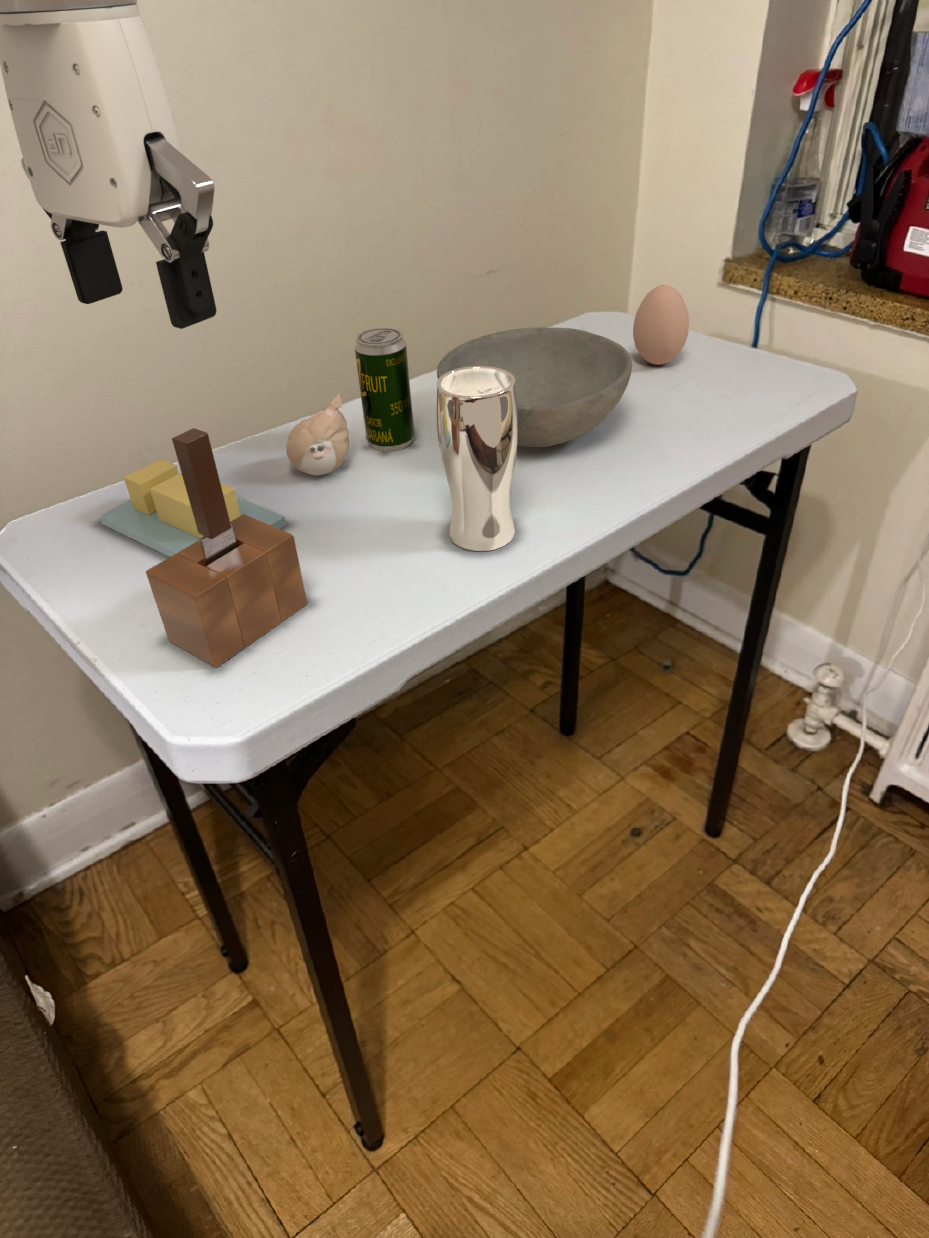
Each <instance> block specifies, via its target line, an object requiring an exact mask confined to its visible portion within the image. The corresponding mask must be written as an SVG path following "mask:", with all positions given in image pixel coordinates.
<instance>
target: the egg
mask: <svg viewBox="0 0 929 1238" xmlns="http://www.w3.org/2000/svg"><path fill="white" fill-rule="evenodd" d="M686 304H687V303H686V302H685V300H684V297H683V296H682V295H681V293H680V292H679V291H678V289H676V288H675V287H673V286H671V285H668V284H661V285H659V286H656V287H654V288H653V289H651V290H649V292H647V293H646V295H645V297H644V298H643V299H642V301H641V302H640V305H639V307H638V309H637V311H636V313H635V315H634V320H633V327H632V338H633V342H634V346H635V348H636V350H637V352H638V354H639V355H640V356H641V358H643V359H644V360H645V361H646V362H648V363H650V364H651V365H655V366H661V365H666V364H668V363H670V362H671V361H673V360H674V359H675V358H676V357H677V356H678V355H679V354H680V353H681V351H682V350H683V348H684V347H685V345H686V343H687V341H688V336H689V332H690V331H689V330H690V329H689V328H690V318H689V317H690V316H689V311H688V309H687V305H686Z"/></svg>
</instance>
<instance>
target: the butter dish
mask: <svg viewBox="0 0 929 1238" xmlns="http://www.w3.org/2000/svg"><path fill="white" fill-rule="evenodd" d="M236 498H237V502H238V506H239V510H240V514H241V515H243V514H245V515H247V516H250V517H252V518H254V519H257V520H259V521H262V522H264V523H266V524H269V525H271V526H274V527H276V528H278V529H281V530H282V529H283V528H284V527H286V526H287V521H286V517H285V516H284V515H282V514H279V513H277V512H274V511H272V510H271V509H270V510H269V509H267V508H265V507H262V506H260V505H257V504H255V503H252V502H251V501H248V500H245V499H244V498H240V497H238V496H236ZM98 517H99V520H100V523H101V525H102V526H105V527H107V528H109V529H111V530H113V531H116V532H117V533H119V534H122V535H123V536H125V537H127V538H129V539H132V540H134V541H135V542H138V543H140V544H142V545H144V546H146V547H148V548H150V549H152V550H155V551H156V552H158V553H161V554H163V555H164V556H167V557H168V558H169V557H171V556H173V555H174V554H177V553H178V552H179V551H181V550H183V549H185V548H186V547H188V546H190V545H191V544H193V543H195V542H197V541H198V540H199V539H200V538H197V537H195V536H193V535H191V534H189V533H187V532H184V531H182V530H180V529H178V528H176V527H173V526H171V525H169V524H167V523H165V522H162V521H160V520H159V517H158V514H157V511H156V512H154V513H152V514H150V515H147V514H145V513H143V512H141V511H138V510H136V509H134V507H133V504H132V501H131V498H130V499H129V500H126V501H125V502H122V503H120V504H119V505H116V506H114V507H113V508H111V509H109V510H107V511H105V512H103V513H100V514H99V515H98Z"/></svg>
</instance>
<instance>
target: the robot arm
mask: <svg viewBox="0 0 929 1238" xmlns="http://www.w3.org/2000/svg"><path fill="white" fill-rule="evenodd" d="M142 18H143V17H142V16H141V11H140V7H139V4H138V0H0V69H1V75H2V80H3V85H4V89H5V94H6V98H7V102H8V103H7V104H8V107H9V110H10V114H11V118H12V122H13V126H14V131H15V134H16V138H17V141H18V144H19V145H18V146H19V148H20V149H19V150H20V152H21V155H22V158H21V160H20V162H21V163H20V164H21V167H22V169H23V171H24V173H25V174H26V176H27V178H28V180H29V183H30V186H31V190H32V192H33V195H34V198H35V200H36V202H37V204H38V205H39V206H40V207H41V208H42V210H43V211H44V212H45V214H46V215H47V216H48V218H49V219H50V229H51V231H52V234H53V235H54V237H55V239H57V240H58V241H60V246H61V249H62V253H63V256H64V258H65V261H66V266H67V268H68V272H69V275H70V278H71V281H72V284H73V289H74V291H75V295H76V298H77V300H78V301H79V302H80V303H81V304H85V305H91V304H94V303H96V302H99V301H102V300H106V299H108V298H112V297H114V296H118V295H120V294H121V293H122V292H123V284H122V281H121V277H120V274H119V271H118V267H117V263H116V260H115V259H116V258H115V256H114V253H113V248H112V245H111V241H110V239H109V238H110V237H109V234H108V231H107V230H99V228H100V226H101V225H102V226H106V227H114V228H129V227H132V226H134V225H135V224H136V223H137V222H138V224H139V225H140V227H141V229H142V230H143V231H144V233H145V234H146V236H147V237H148V238H149V240H150V241H151V243H152V244H153V246H154V248H156V250H157V251H158V253H159V254H160V256H161V257H162V259H161V260H157V261H155V264H156V270H157V274H158V277H159V281H160V285H161V289H162V293H163V297H164V301H165V305H166V308H167V309H166V310H167V313H168V317H169V320H170V323H171V326H172V327H174V328H177V329H181V330H182V329H186V328H189V327H190V326H193V325H196V324H199V323H201V322H204V321H206V320H209V319H211V318H214V317H215V316H216V314H217V306H216V302H215V301H216V300H215V297H214V296H215V295H214V292H213V287H212V283H211V278H210V274H209V269H208V264H207V259H206V255H205V252H208V251H209V249H210V241H209V239H208V238H209V236H210V235H211V231H212V230H213V227H214V220H213V217H212V213H213V206H214V198H215V184H214V181H213V180H212V178H211V176H209V175H208V174H207V173H205V172H204V171H203V170H202V169H201V168H200V167H198V166H197V165H196V164H195V163H194V162H192V161H191V160H190V159H188V157H186V156H185V155H184V154H183V153H184V152H183V149H182V144H181V140H180V136H179V131H178V127H177V125H176V121H175V117H174V113H173V109H172V105H171V102H170V99H169V96H168V95H169V94H168V92H167V88H166V85H165V81H164V79H163V76H162V72H161V69H160V65H159V63H158V60H157V57H156V54H155V51H154V48H153V45H152V42H151V40H150V37H149V34H148V31H147V29H146V26H145V24H144V21H143V19H142ZM170 220H172V221H173V223H174V224H173V227H172V229H171V232H169V231H168V229H167V228H166V226H165V225H164V224H163V222H166V221H170ZM98 230H99V231H98Z"/></svg>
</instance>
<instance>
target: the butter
mask: <svg viewBox="0 0 929 1238" xmlns="http://www.w3.org/2000/svg"><path fill="white" fill-rule="evenodd" d="M220 484H221V488H222V492H223V496H224V499H225V503H226V507H227V511H228V515H229V519H230V522H231V521H233V520H234V519H236V518H238V517H239V516H241V514H240V510H239V506H238V502H237V498H236V497H237V494H236V489H235V487H232V486H229V485H227V484H225V483H222V482H220ZM150 492H151V495H152V498H153V501H154V504H155V508H156V511H157V514H158V517H159V520H160V521H162V522H165V523H167V524H169V525H171V526H173V527H176V528H178V529H180V530H182V531H184V532H187V533H189V534H191V535H193V536H195V537H197V538H202V537H203V535H201V534H199V533H198V530H197V526H196V523H195V519H194V516H193V512H192V509H191V505H190V501H189V498H188V494H187V491H186V487H185V484H184V480H183V477H182V473H181V472H180V473H179V474H178V475H176V476H174V477H172V478H170V479H168V480H166V481H164V482H162V483H160V484H158V485H156V486H154V487H152V488H150Z"/></svg>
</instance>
